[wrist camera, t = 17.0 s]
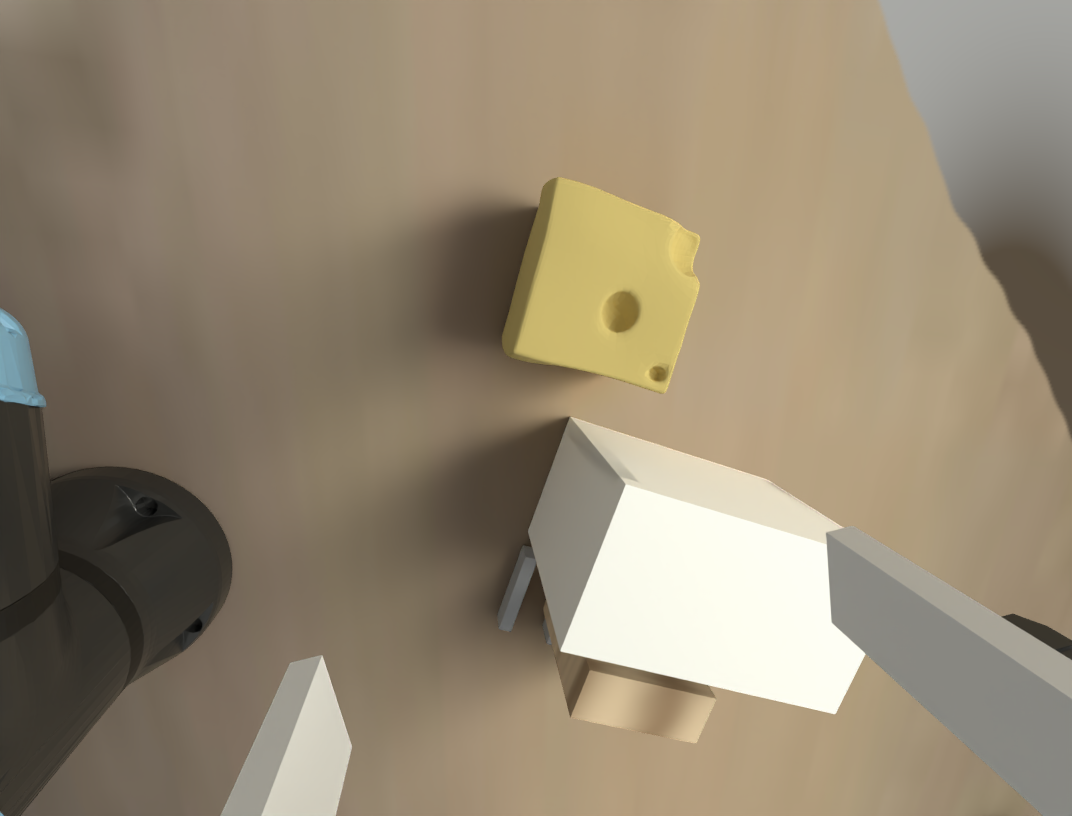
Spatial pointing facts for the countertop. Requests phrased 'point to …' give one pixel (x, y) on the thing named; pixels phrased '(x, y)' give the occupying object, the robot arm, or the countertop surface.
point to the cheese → (602, 287)
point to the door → (631, 696)
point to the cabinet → (684, 571)
